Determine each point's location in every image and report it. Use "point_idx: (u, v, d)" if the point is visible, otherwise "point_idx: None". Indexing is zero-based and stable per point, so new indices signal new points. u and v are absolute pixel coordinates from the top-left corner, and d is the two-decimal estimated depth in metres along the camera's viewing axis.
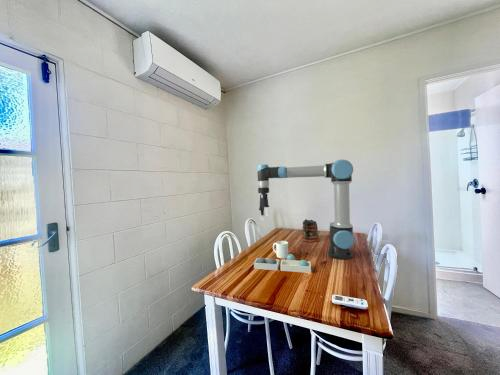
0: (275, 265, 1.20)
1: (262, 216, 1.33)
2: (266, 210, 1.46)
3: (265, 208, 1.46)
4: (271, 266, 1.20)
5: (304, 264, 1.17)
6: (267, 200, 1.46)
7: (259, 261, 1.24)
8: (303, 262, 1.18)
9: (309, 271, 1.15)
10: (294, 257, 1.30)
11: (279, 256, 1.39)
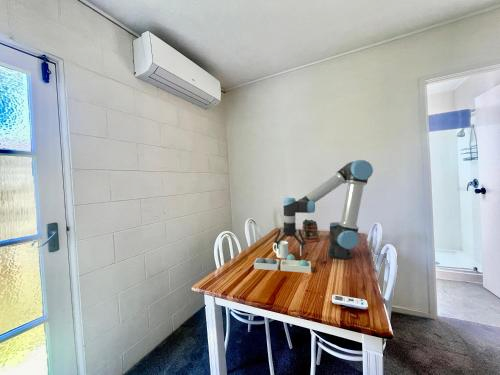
0: (275, 265, 1.20)
1: None
2: (300, 248, 1.29)
3: (300, 246, 1.30)
4: (271, 266, 1.20)
5: (304, 264, 1.17)
6: (301, 238, 1.28)
7: (259, 261, 1.24)
8: (303, 262, 1.18)
9: (309, 271, 1.15)
10: (294, 257, 1.30)
11: (279, 256, 1.39)
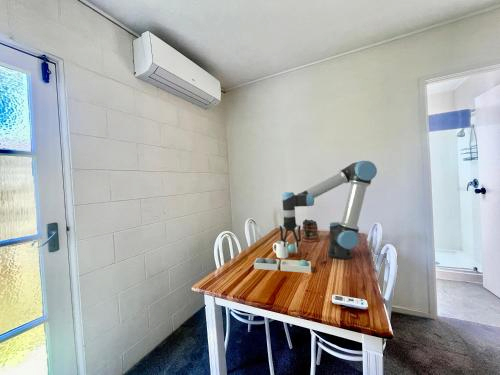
0: (275, 265, 1.20)
1: (286, 248, 1.32)
2: (295, 245, 1.30)
3: (295, 243, 1.30)
4: (271, 266, 1.20)
5: (304, 264, 1.17)
6: (298, 233, 1.28)
7: (259, 261, 1.24)
8: (303, 262, 1.18)
9: (309, 271, 1.15)
10: None
11: (279, 256, 1.39)
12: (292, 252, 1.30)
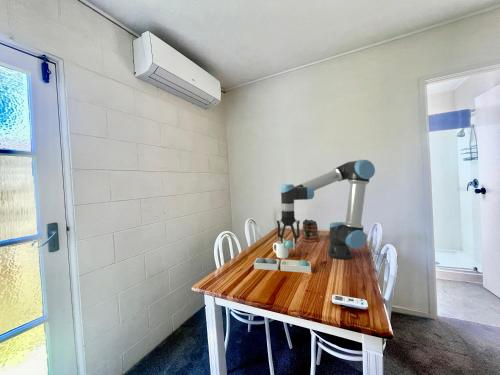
0: (275, 265, 1.20)
1: (283, 244, 1.22)
2: (293, 242, 1.20)
3: (293, 240, 1.21)
4: (271, 266, 1.20)
5: (304, 264, 1.17)
6: (297, 229, 1.19)
7: (259, 261, 1.24)
8: (303, 262, 1.18)
9: (309, 271, 1.15)
10: (292, 243, 1.20)
11: (279, 256, 1.39)
12: (289, 249, 1.20)
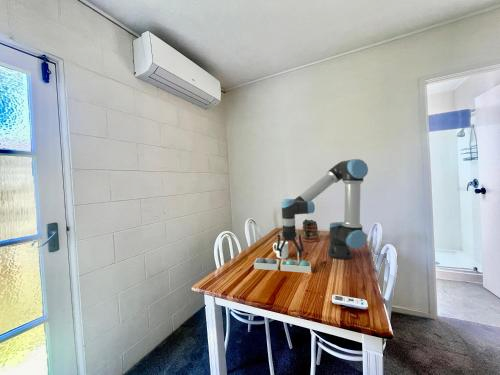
0: (275, 265, 1.20)
1: None
2: None
3: (297, 253, 1.20)
4: (271, 266, 1.20)
5: (304, 264, 1.17)
6: None
7: (259, 261, 1.24)
8: (303, 262, 1.18)
9: (309, 271, 1.15)
10: (293, 262, 1.20)
11: (279, 256, 1.39)
12: None
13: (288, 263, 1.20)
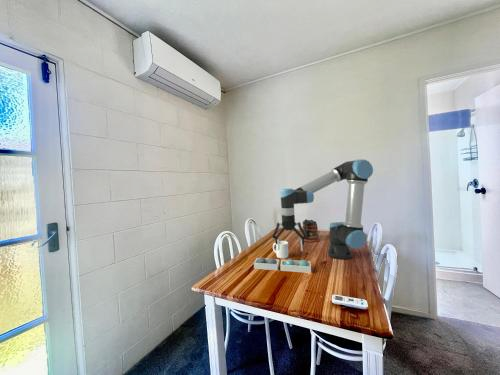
0: (275, 265, 1.20)
1: None
2: None
3: None
4: (271, 266, 1.20)
5: (304, 264, 1.17)
6: (301, 231, 1.18)
7: (259, 261, 1.24)
8: (303, 262, 1.18)
9: (309, 271, 1.15)
10: (293, 262, 1.20)
11: (279, 256, 1.39)
12: None
13: (288, 263, 1.20)
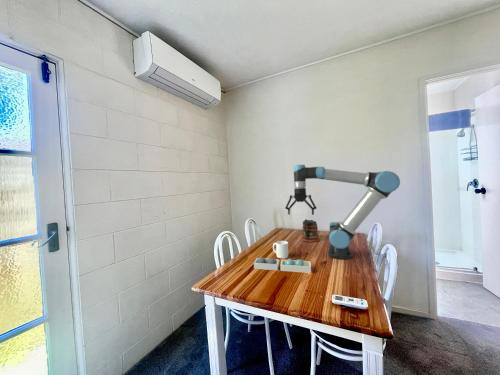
0: (275, 265, 1.20)
1: (290, 216, 1.38)
2: None
3: None
4: (271, 266, 1.20)
5: (298, 263, 1.18)
6: (311, 202, 1.33)
7: (259, 261, 1.24)
8: (296, 262, 1.19)
9: (309, 271, 1.15)
10: (293, 262, 1.21)
11: (279, 256, 1.39)
12: None
13: (288, 263, 1.20)
